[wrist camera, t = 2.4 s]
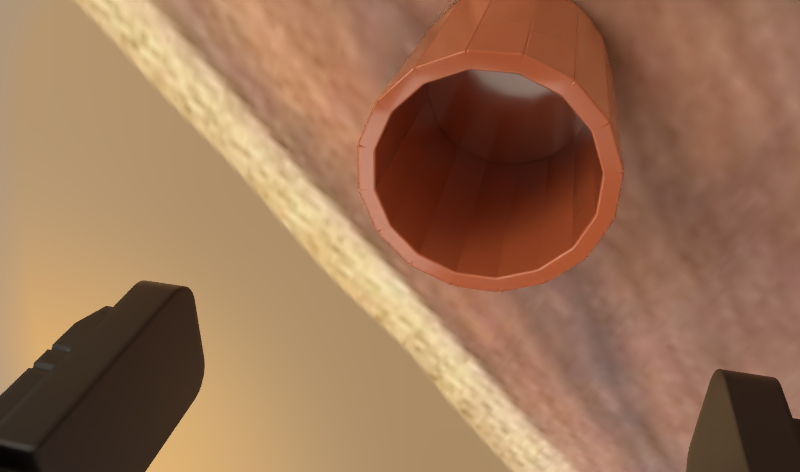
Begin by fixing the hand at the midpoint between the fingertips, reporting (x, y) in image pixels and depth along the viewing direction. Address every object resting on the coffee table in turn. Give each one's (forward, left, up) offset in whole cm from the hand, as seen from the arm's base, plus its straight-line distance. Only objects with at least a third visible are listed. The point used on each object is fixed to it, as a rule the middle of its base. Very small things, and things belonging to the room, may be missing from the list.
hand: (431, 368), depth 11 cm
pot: (0, 0, -14) cm, 14 cm away
